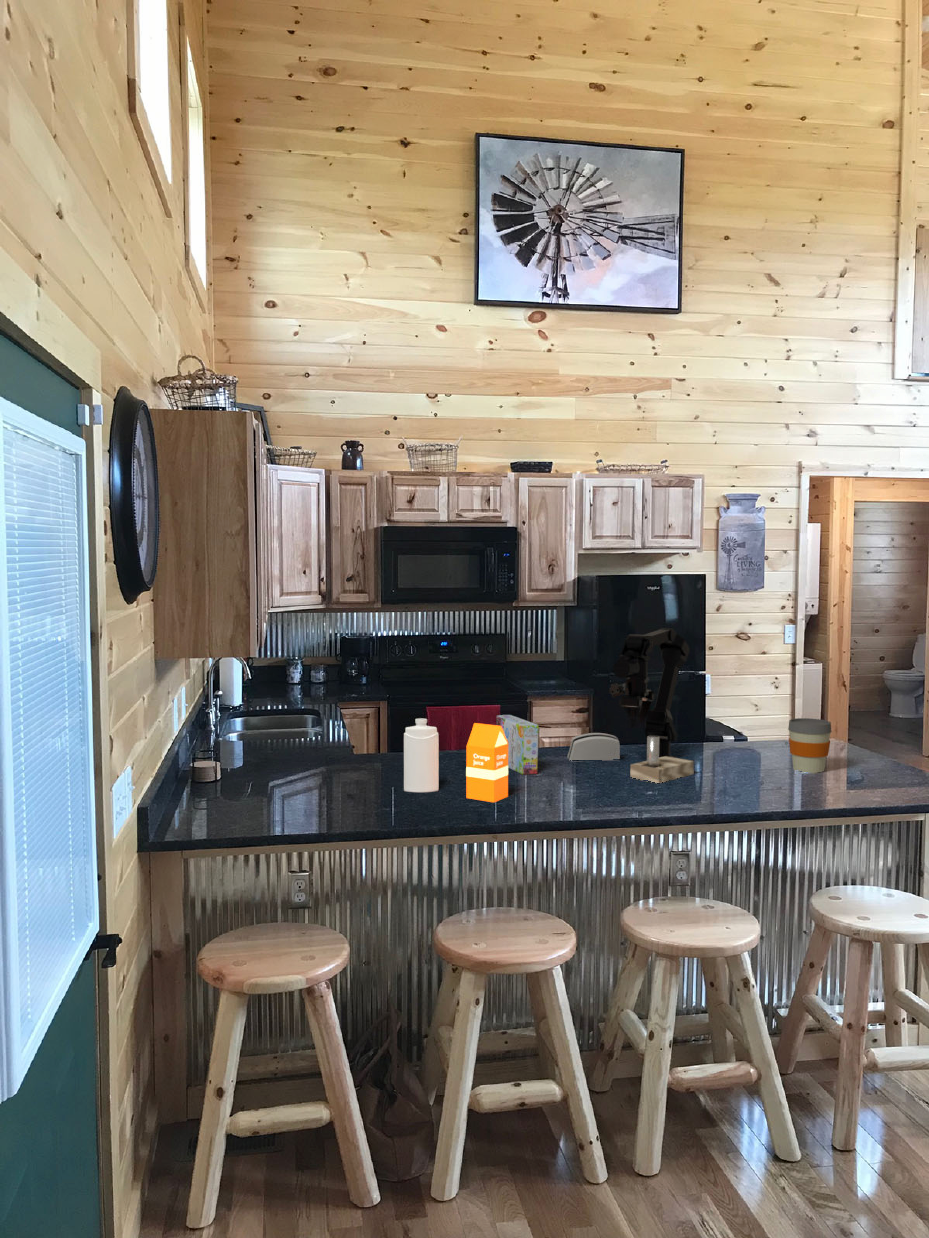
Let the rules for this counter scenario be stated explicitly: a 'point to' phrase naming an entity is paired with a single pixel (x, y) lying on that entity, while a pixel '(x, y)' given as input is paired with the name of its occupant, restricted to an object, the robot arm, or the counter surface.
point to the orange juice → (487, 763)
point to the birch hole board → (663, 770)
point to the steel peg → (653, 751)
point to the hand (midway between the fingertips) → (637, 725)
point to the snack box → (520, 743)
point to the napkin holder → (594, 747)
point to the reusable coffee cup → (809, 743)
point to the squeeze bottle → (421, 757)
